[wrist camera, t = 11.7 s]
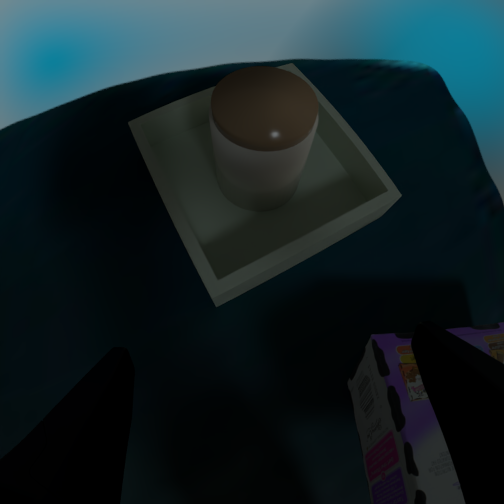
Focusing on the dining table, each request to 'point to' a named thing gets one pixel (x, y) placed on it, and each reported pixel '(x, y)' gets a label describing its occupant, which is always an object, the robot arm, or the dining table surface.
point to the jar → (261, 135)
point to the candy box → (407, 420)
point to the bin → (253, 222)
